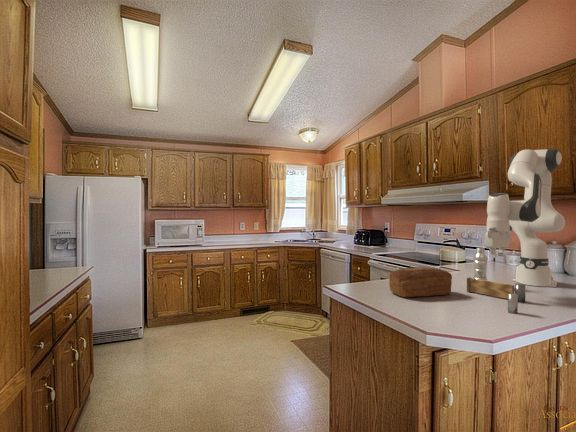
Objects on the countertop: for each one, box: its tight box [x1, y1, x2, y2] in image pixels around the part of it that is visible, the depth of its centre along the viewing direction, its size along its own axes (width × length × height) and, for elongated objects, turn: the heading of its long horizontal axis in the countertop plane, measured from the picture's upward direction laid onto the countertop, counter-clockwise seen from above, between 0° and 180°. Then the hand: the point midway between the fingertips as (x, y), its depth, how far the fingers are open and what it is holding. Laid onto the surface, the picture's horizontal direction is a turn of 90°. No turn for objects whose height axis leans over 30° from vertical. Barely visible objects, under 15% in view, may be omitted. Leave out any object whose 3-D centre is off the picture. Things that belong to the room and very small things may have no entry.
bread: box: [388, 266, 453, 298], centre depth 143 cm, size 14×28×12 cm, turn 103°
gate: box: [466, 277, 515, 300], centre depth 140 cm, size 18×2×6 cm, turn 36°
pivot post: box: [514, 282, 526, 304], centre depth 131 cm, size 4×4×8 cm
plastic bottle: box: [472, 247, 489, 281], centre depth 158 cm, size 6×7×20 cm
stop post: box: [507, 293, 519, 315], centre depth 117 cm, size 3×3×7 cm
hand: (497, 256), depth 143 cm, fingers open, 7 cm apart
